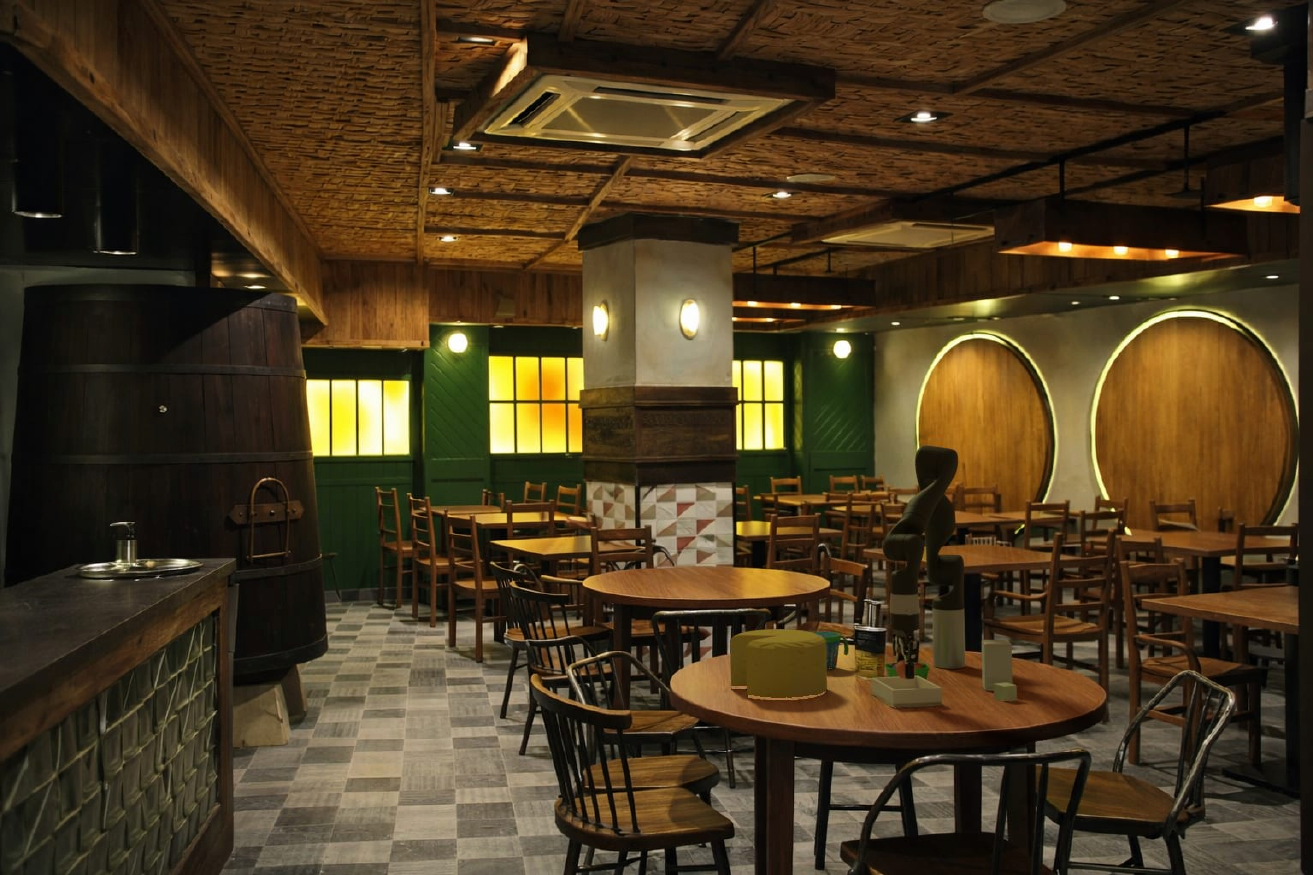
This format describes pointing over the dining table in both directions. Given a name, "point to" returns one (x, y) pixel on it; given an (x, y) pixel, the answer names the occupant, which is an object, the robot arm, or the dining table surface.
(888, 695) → the bin
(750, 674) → the cheese
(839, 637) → the snack cup
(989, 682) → the supplement box
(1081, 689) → the dining table surface
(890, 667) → the fruit basket
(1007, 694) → the green block
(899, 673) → the ball
